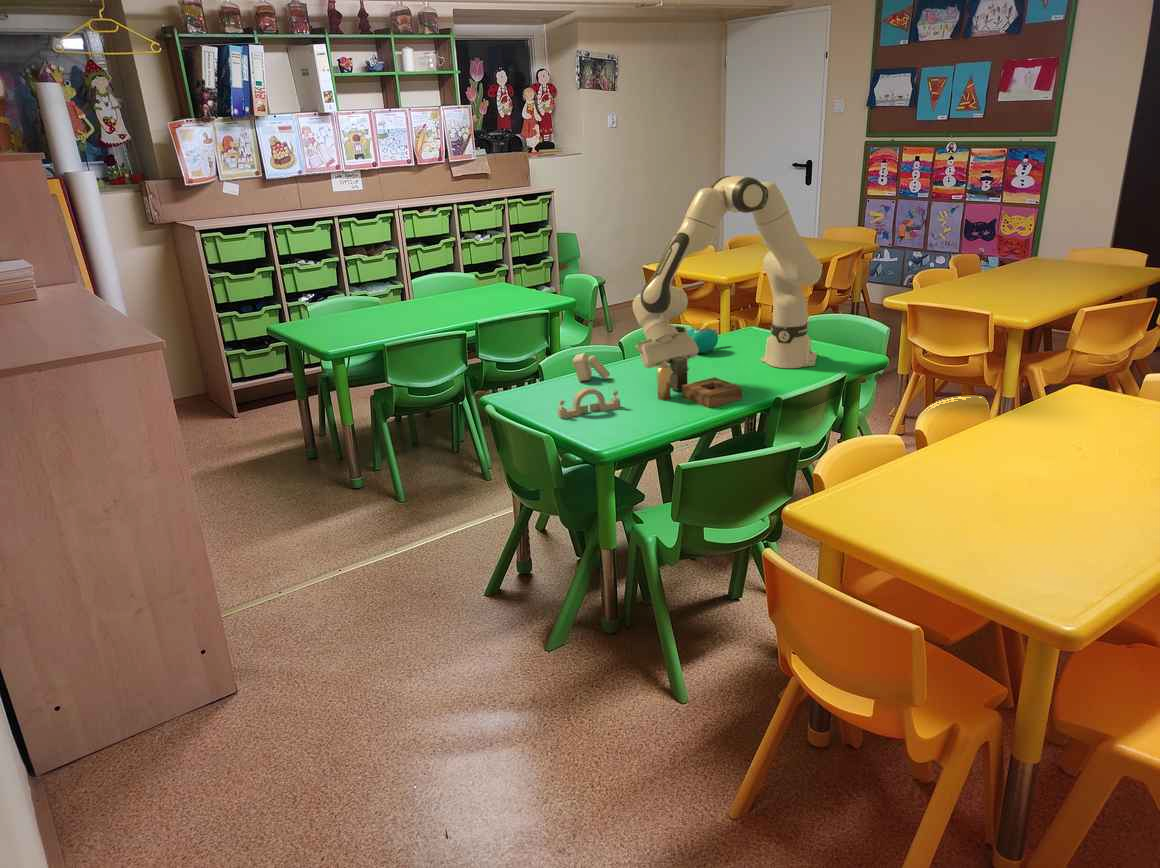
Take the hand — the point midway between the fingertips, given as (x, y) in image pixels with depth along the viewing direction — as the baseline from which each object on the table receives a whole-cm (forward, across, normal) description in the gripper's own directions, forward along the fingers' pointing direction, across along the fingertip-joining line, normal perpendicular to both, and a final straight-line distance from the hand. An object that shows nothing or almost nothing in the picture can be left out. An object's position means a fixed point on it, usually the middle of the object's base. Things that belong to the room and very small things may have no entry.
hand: (679, 372), depth 258 cm
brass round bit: (+6, -8, +2) cm, 11 cm away
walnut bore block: (+13, +3, -5) cm, 14 cm away
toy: (-24, +34, +34) cm, 54 cm away
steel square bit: (+3, 0, +4) cm, 5 cm away
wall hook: (-16, -15, +25) cm, 33 cm away
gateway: (+4, -34, +6) cm, 34 cm away
